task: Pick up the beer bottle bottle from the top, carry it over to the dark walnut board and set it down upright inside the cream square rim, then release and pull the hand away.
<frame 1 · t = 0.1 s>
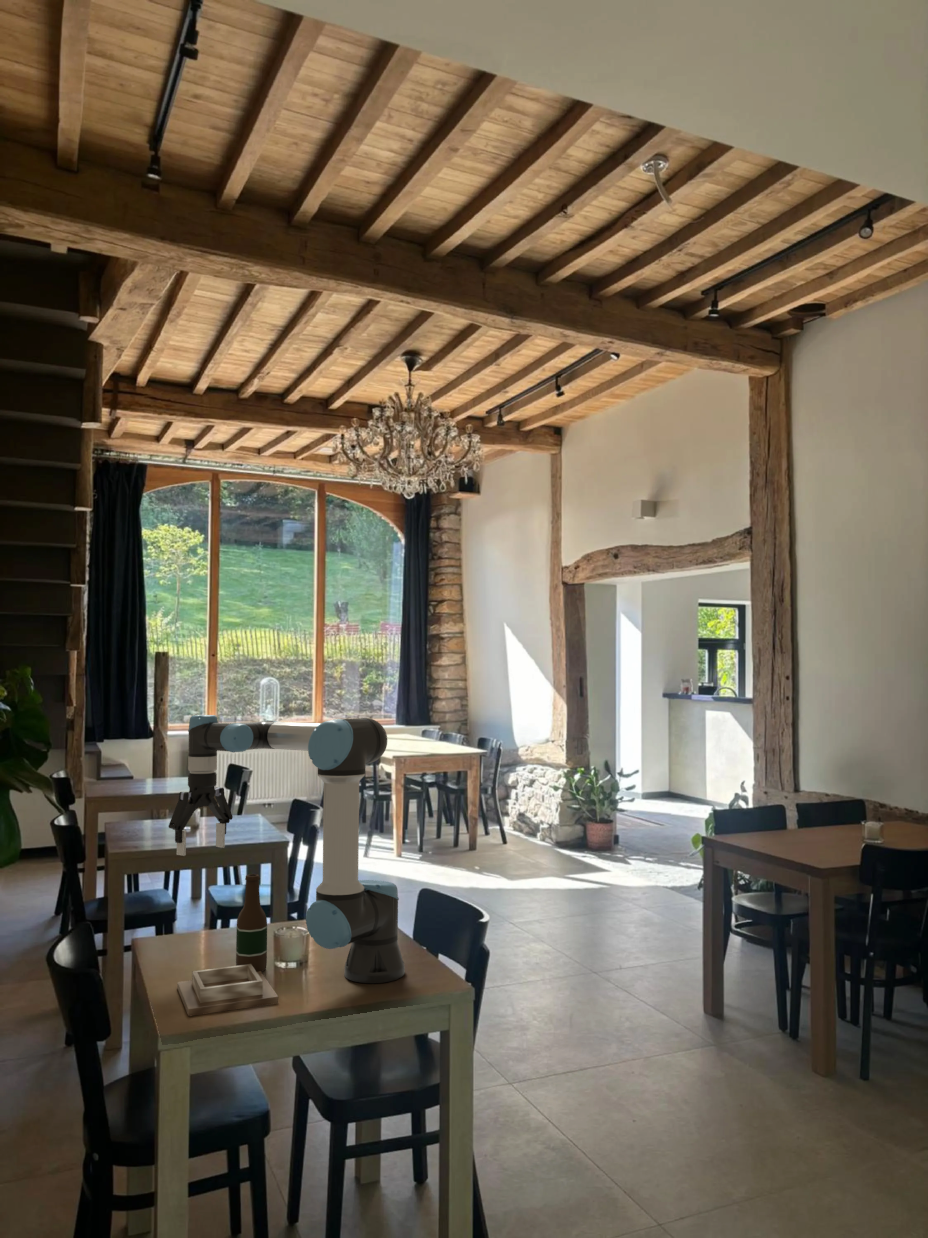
hand: (201, 851, 249), 28 cm above the table, tool pointing down, fingers open, 13 cm apart
beer bottle: (251, 970, 236), on the table
rim board: (226, 995, 216), on the table
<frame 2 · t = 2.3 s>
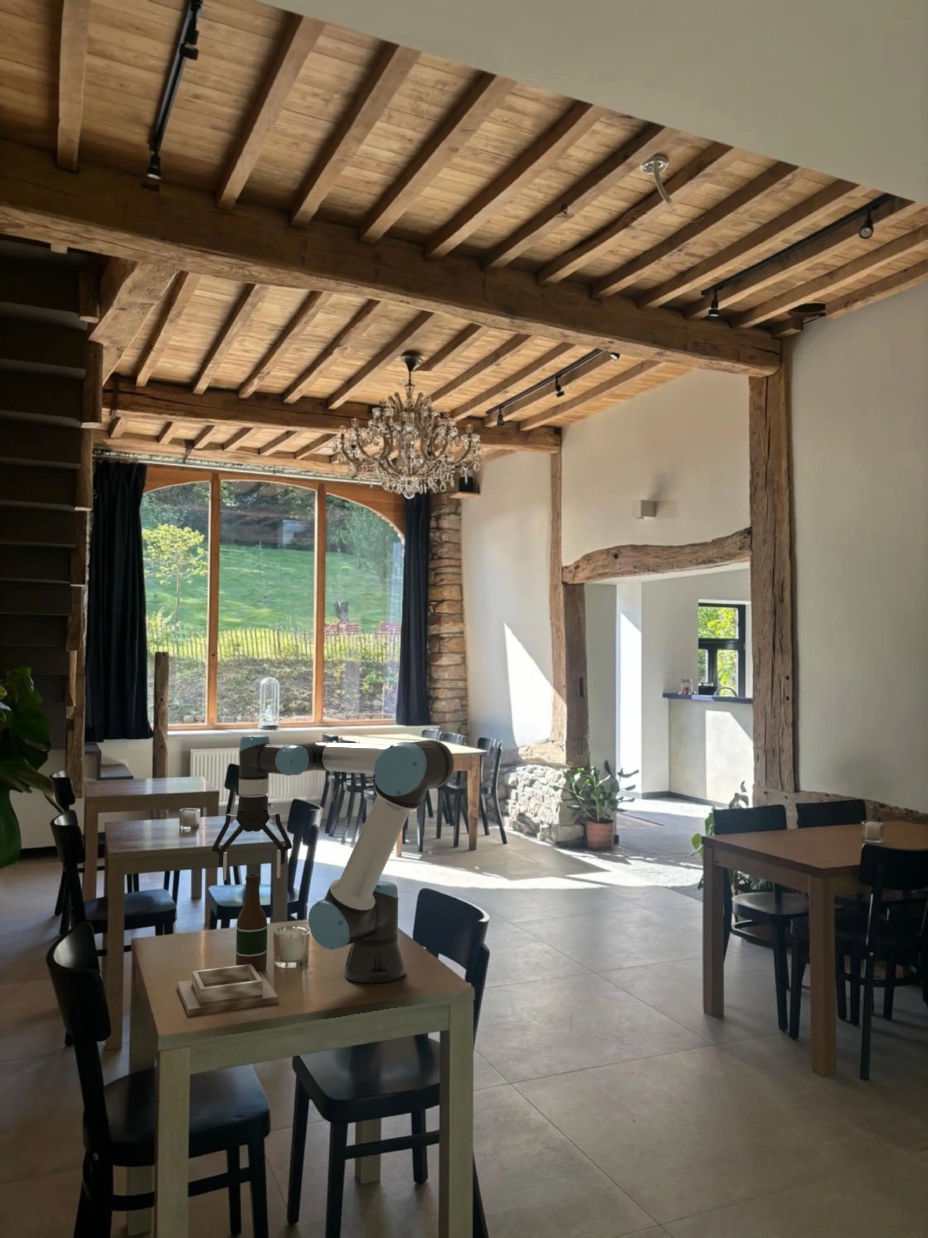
hand: (251, 878, 237), 23 cm above the table, tool pointing down, fingers open, 13 cm apart
nothing on the table moved.
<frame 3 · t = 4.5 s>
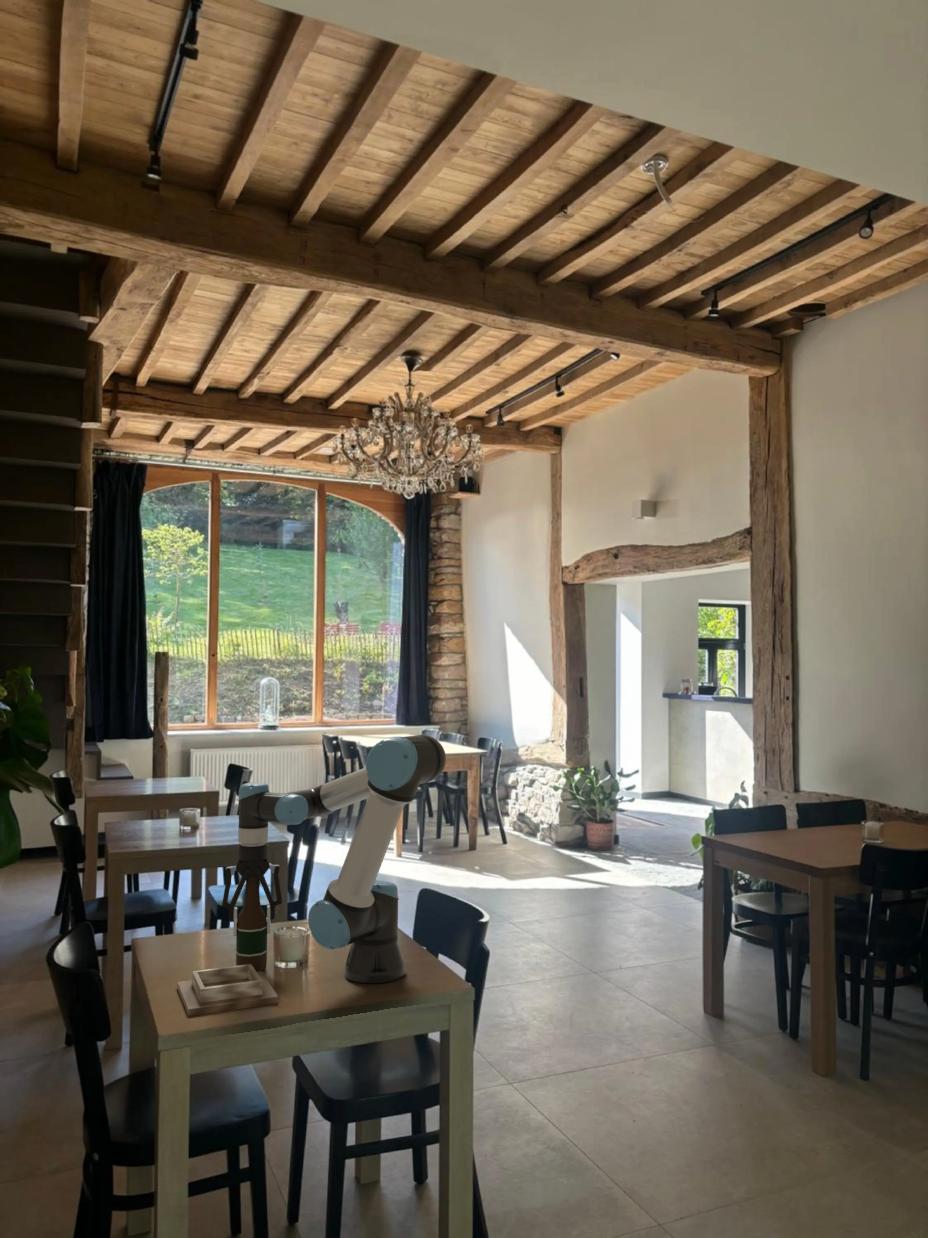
hand: (251, 933, 236), 9 cm above the table, tool pointing down, fingers closed on beer bottle, 8 cm apart
beer bottle: (251, 970, 236), on the table, touching gripper
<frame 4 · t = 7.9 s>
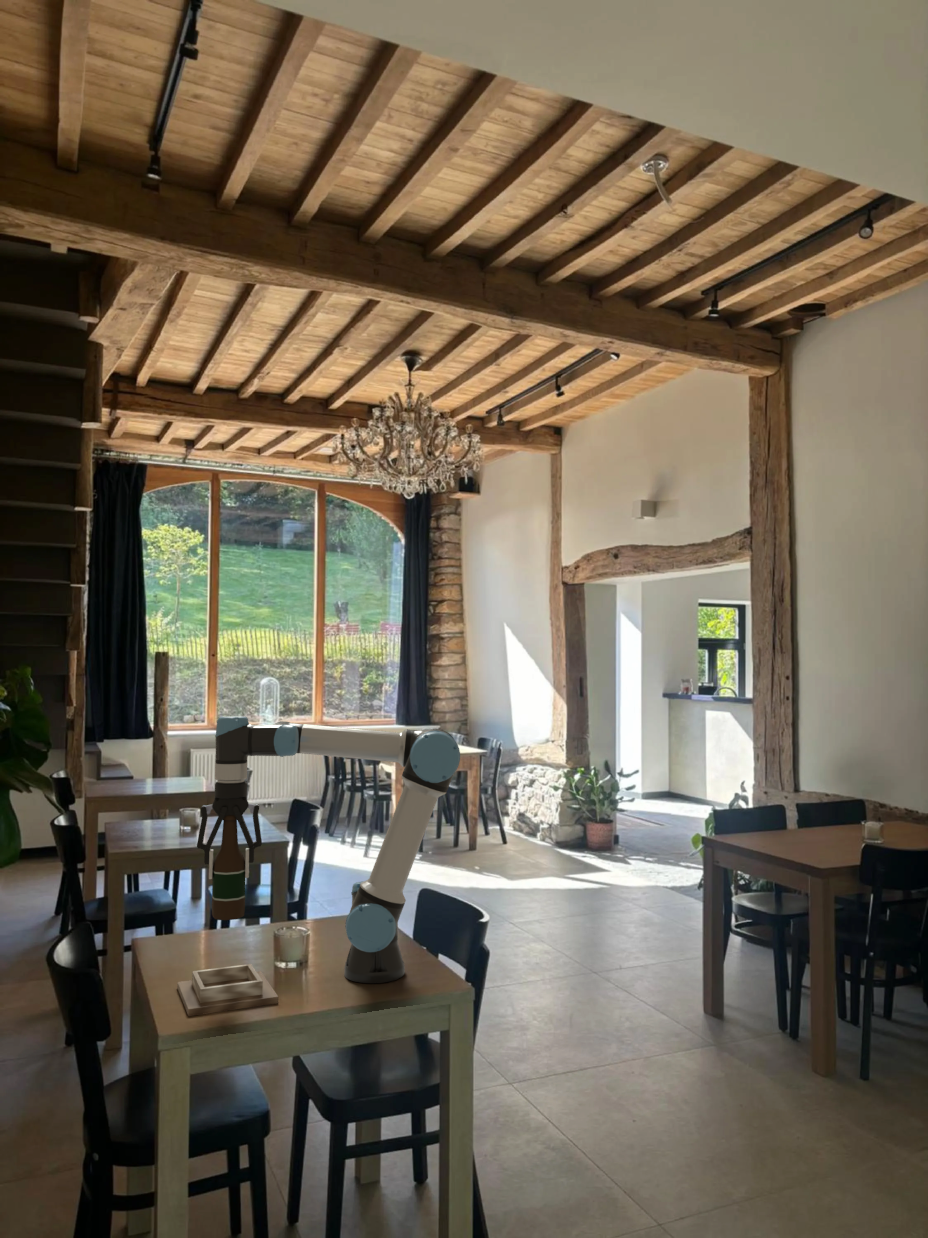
hand: (229, 877, 219), 27 cm above the table, tool pointing down, fingers closed on beer bottle, 8 cm apart
beer bottle: (228, 917, 219), point 18 cm above the table, touching gripper
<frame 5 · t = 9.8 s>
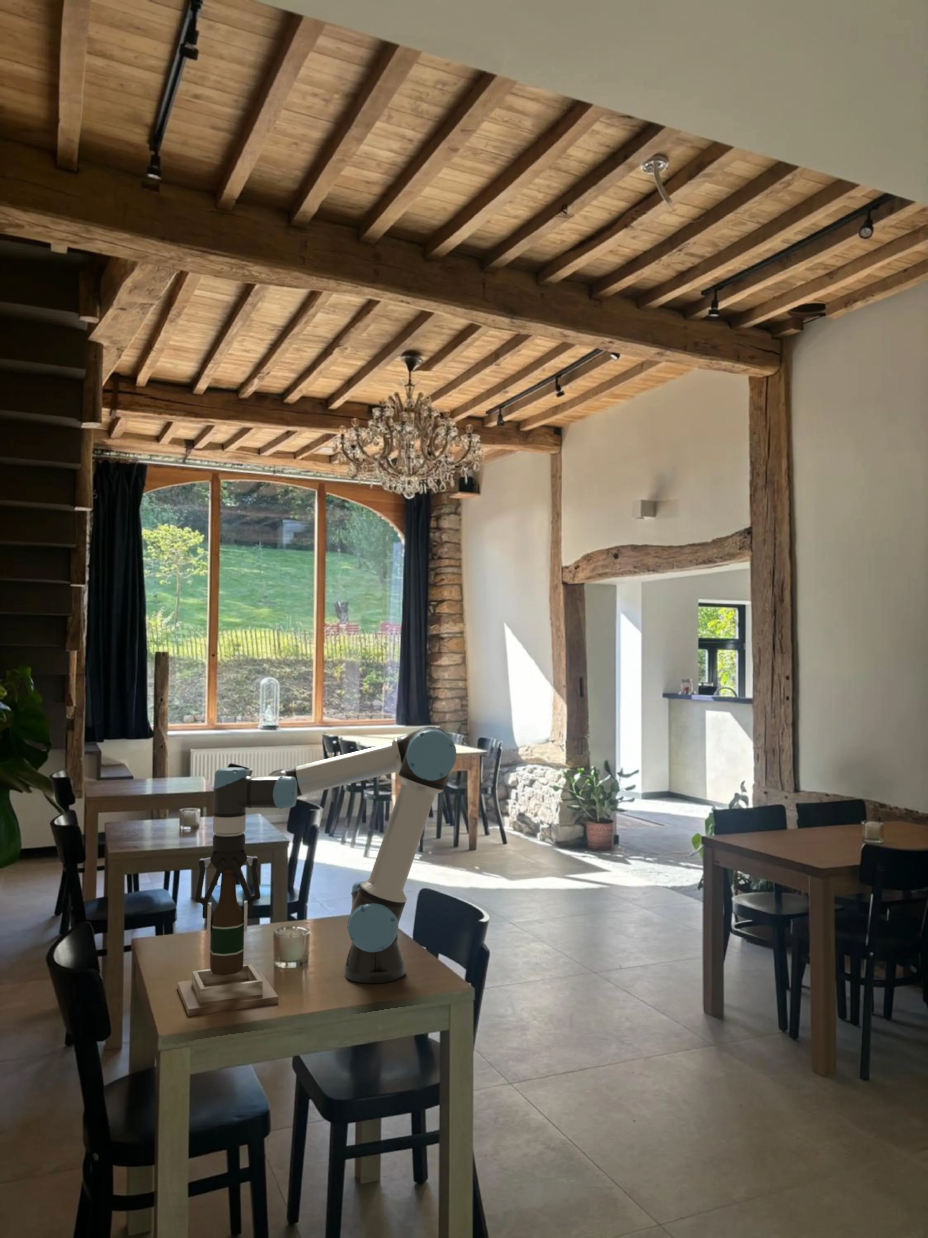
hand: (227, 931, 217), 15 cm above the table, tool pointing down, fingers closed on beer bottle, 8 cm apart
beer bottle: (226, 971, 217), point 6 cm above the table, touching gripper
when the fingers open (13 cm above the table, at t = 11.1 s): beer bottle drops 2 cm, resting on rim board.
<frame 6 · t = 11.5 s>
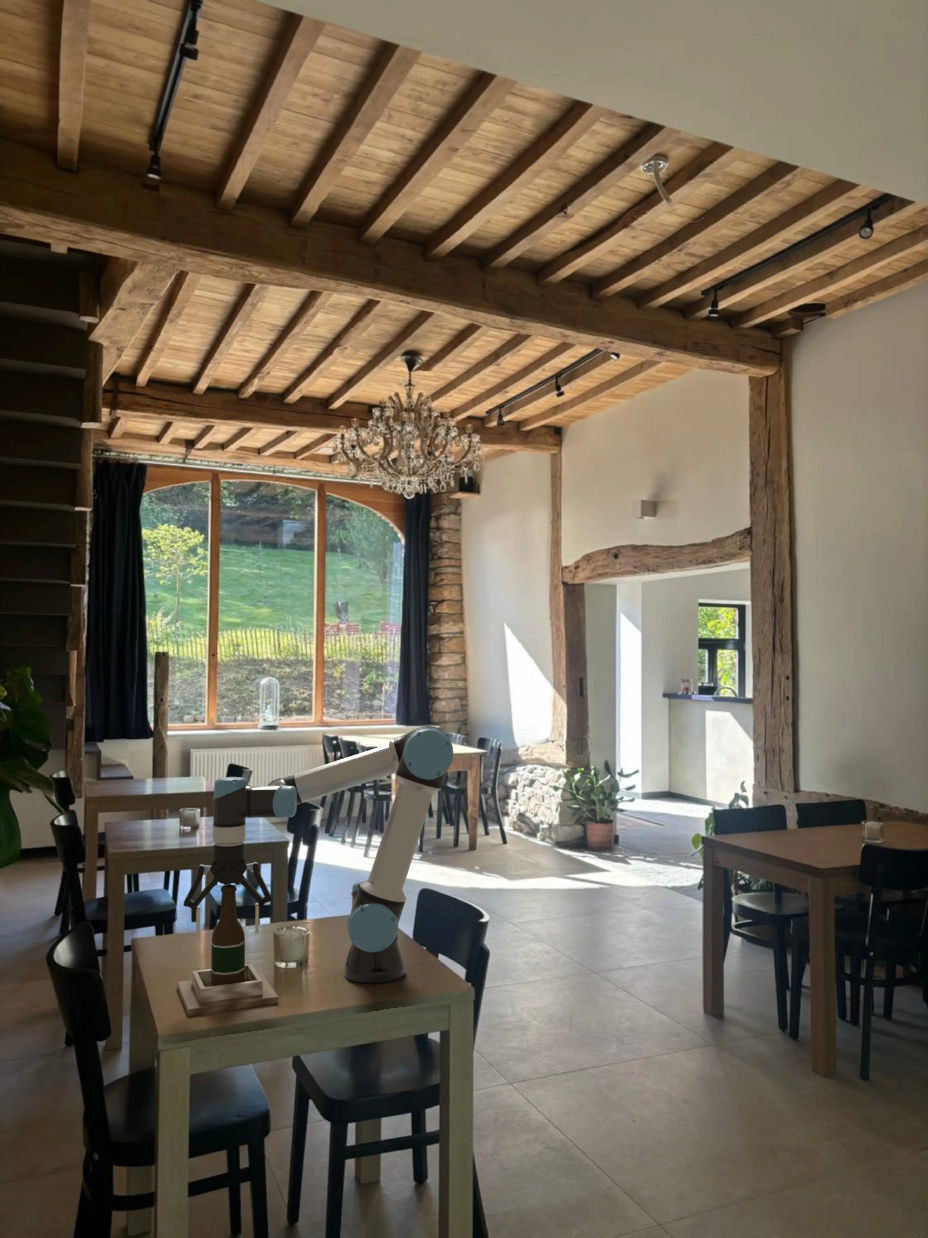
hand: (227, 934, 217), 14 cm above the table, tool pointing down, fingers open, 13 cm apart
beer bottle: (227, 989, 217), point 1 cm above the table, touching rim board
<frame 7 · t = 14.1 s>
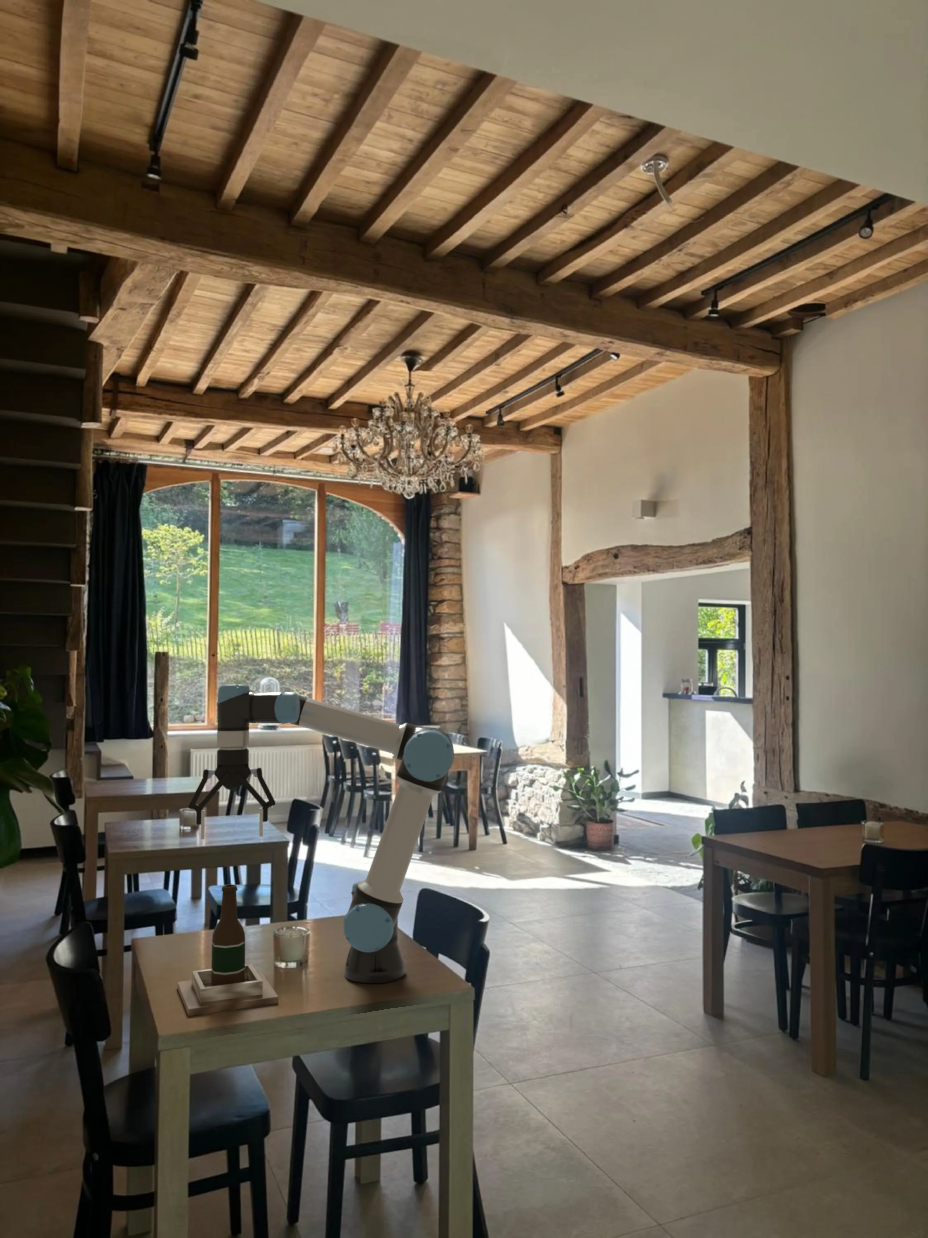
hand: (232, 837, 221), 37 cm above the table, tool pointing down, fingers open, 13 cm apart
nothing on the table moved.
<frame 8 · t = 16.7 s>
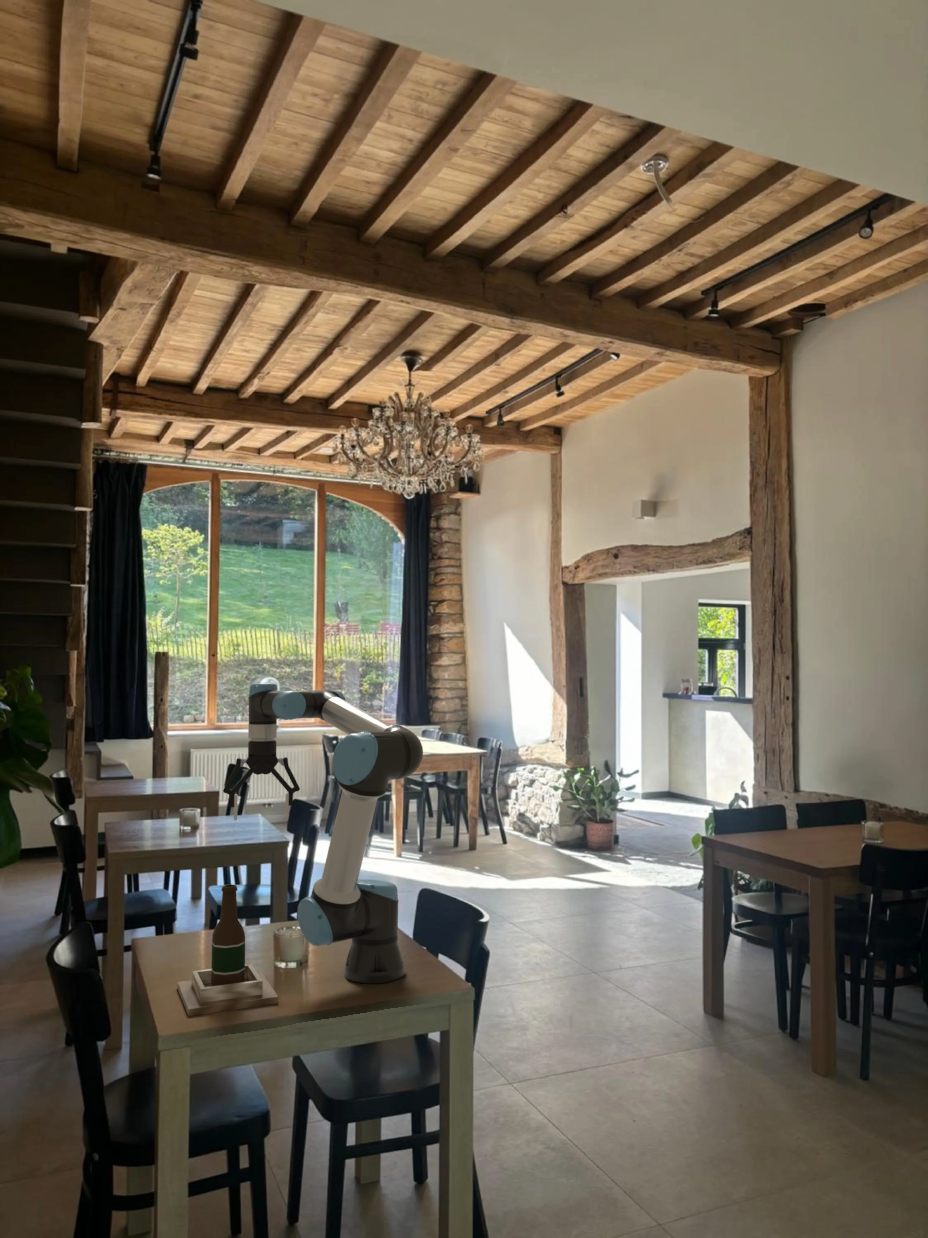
hand: (261, 818, 249), 37 cm above the table, tool pointing down, fingers open, 13 cm apart
nothing on the table moved.
at the end: beer bottle 0.3 cm off-centre on the rim board, point 1.3 cm above the rim board's base; beer bottle tilted 0°; the gripper is holding nothing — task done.
